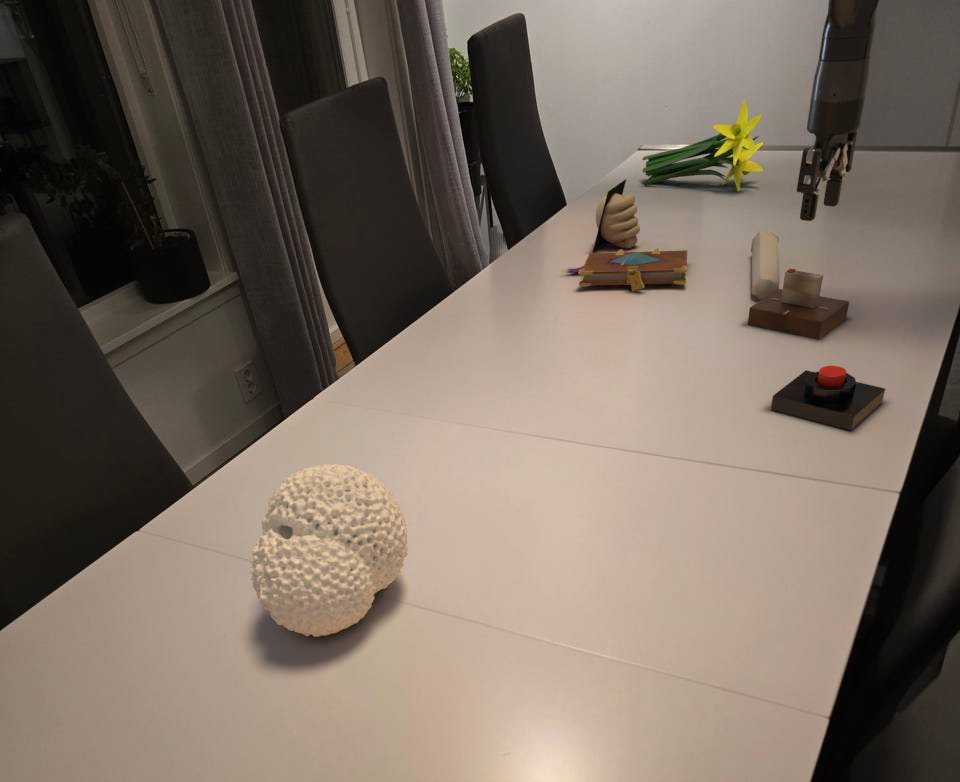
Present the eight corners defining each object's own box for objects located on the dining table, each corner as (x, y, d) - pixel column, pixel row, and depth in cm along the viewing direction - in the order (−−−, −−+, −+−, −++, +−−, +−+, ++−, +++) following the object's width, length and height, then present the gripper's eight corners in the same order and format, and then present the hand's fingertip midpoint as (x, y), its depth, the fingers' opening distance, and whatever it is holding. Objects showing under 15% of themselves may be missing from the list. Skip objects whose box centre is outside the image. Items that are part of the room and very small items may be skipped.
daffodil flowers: (670, 175, 226) (794, 143, 201) (651, 219, 223) (774, 191, 199) (641, 123, 214) (769, 82, 190) (620, 169, 211) (748, 133, 187)
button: (848, 380, 118) (851, 368, 117) (836, 390, 116) (839, 378, 115) (824, 375, 120) (826, 363, 119) (812, 384, 118) (814, 372, 117)
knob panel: (846, 318, 143) (850, 300, 141) (818, 339, 138) (821, 320, 136) (776, 305, 150) (778, 287, 148) (747, 324, 145) (749, 306, 143)
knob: (818, 305, 141) (823, 273, 137) (813, 308, 140) (819, 276, 136) (785, 299, 144) (789, 267, 140) (780, 302, 143) (784, 270, 140)
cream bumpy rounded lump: (285, 481, 102) (295, 414, 87) (418, 533, 106) (450, 478, 90) (224, 627, 96) (223, 583, 81) (368, 678, 99) (393, 645, 84)
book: (568, 271, 177) (568, 245, 174) (688, 267, 171) (690, 241, 168) (556, 294, 164) (556, 268, 161) (685, 292, 159) (687, 264, 156)
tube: (786, 280, 148) (783, 234, 166) (758, 271, 148) (758, 226, 166) (772, 309, 152) (771, 261, 169) (744, 299, 152) (746, 253, 169)
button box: (882, 402, 120) (888, 376, 117) (850, 431, 115) (856, 404, 112) (803, 383, 127) (807, 358, 124) (770, 409, 122) (774, 383, 119)
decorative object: (640, 250, 186) (623, 265, 180) (599, 234, 188) (580, 248, 182) (658, 190, 176) (640, 204, 170) (614, 174, 179) (595, 187, 172)
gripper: (842, 105, 118) (822, 228, 128) (883, 85, 125) (860, 203, 136) (792, 103, 122) (776, 222, 132) (834, 83, 129) (816, 198, 140)
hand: (819, 212), depth 134 cm, fingers open, 8 cm apart
